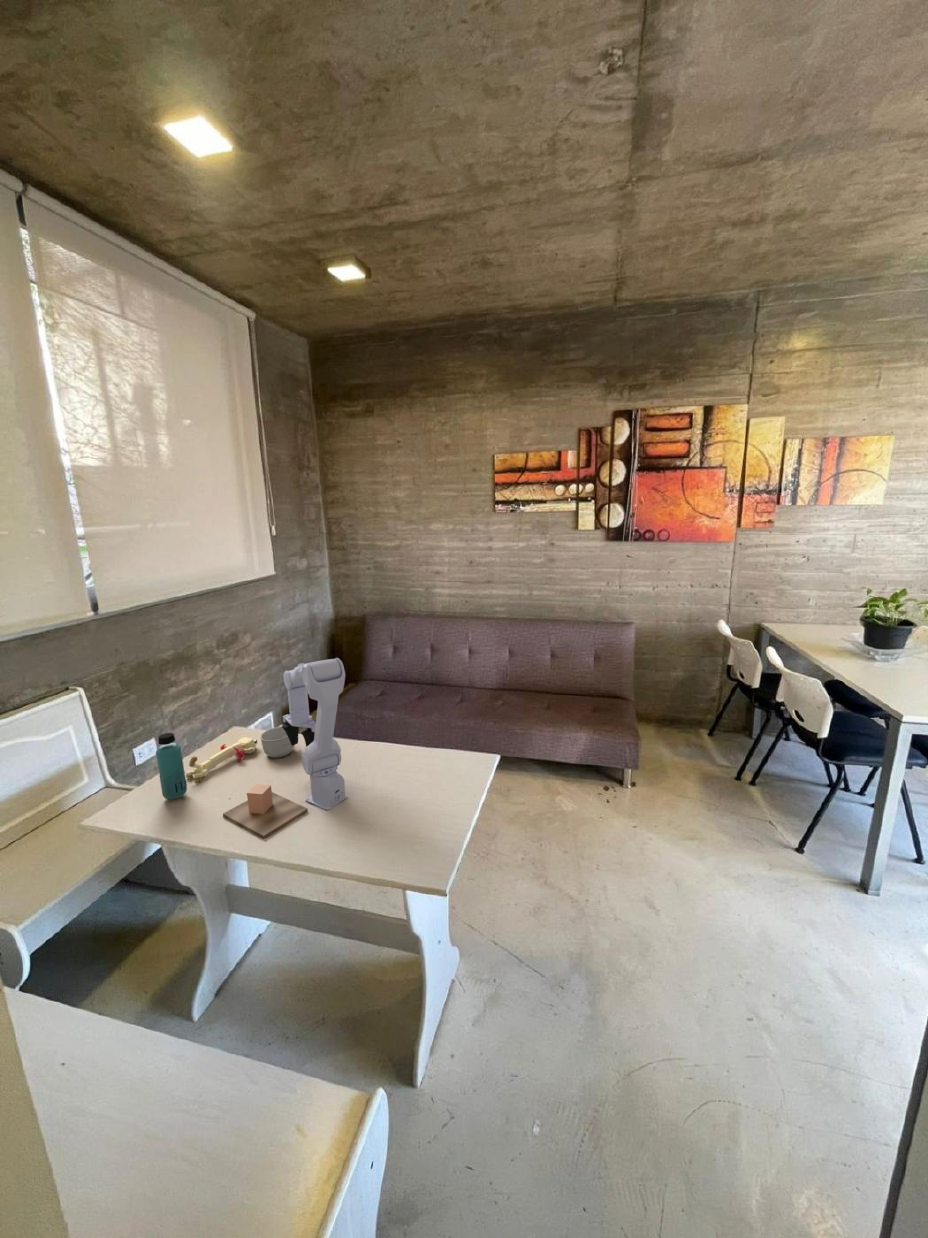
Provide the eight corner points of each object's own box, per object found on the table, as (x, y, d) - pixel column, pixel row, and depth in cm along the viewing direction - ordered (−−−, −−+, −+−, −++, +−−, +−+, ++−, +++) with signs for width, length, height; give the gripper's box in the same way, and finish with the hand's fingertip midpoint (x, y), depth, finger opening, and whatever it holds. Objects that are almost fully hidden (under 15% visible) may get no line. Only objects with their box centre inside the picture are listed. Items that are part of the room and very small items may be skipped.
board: (307, 811, 136) (307, 808, 136) (263, 839, 125) (263, 835, 125) (267, 792, 146) (267, 789, 146) (223, 817, 134) (222, 813, 134)
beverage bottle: (176, 805, 140) (167, 740, 136) (157, 802, 142) (147, 738, 137) (193, 792, 146) (184, 730, 142) (174, 790, 148) (165, 729, 144)
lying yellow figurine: (204, 788, 152) (266, 747, 173) (198, 763, 149) (262, 725, 171) (183, 781, 156) (246, 742, 177) (177, 757, 153) (241, 721, 175)
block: (272, 804, 138) (270, 785, 137) (264, 814, 134) (262, 794, 133) (258, 803, 139) (256, 784, 138) (249, 812, 135) (246, 793, 133)
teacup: (288, 761, 165) (286, 739, 163) (257, 761, 165) (254, 739, 163) (303, 742, 178) (301, 722, 177) (273, 742, 179) (271, 722, 177)
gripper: (325, 707, 151) (328, 747, 154) (294, 698, 158) (297, 737, 161) (306, 715, 145) (310, 757, 148) (275, 705, 153) (279, 745, 155)
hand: (302, 747), depth 154 cm, fingers open, 7 cm apart
